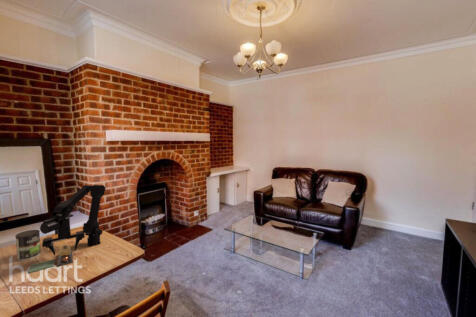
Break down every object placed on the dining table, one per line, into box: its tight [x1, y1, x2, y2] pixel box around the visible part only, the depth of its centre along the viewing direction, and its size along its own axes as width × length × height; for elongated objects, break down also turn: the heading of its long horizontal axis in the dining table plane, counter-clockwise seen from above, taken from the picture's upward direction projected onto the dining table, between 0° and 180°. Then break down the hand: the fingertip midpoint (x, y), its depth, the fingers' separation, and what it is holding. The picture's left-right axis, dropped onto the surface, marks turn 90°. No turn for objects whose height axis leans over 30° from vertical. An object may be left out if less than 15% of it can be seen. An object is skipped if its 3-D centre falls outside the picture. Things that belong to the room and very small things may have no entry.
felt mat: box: [28, 259, 55, 274], centre depth 118 cm, size 10×8×1 cm
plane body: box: [57, 249, 74, 267], centre depth 125 cm, size 15×6×5 cm, turn 38°
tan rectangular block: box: [58, 244, 72, 257], centre depth 124 cm, size 7×5×3 cm
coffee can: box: [14, 229, 42, 262], centre depth 128 cm, size 10×10×14 cm
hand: (65, 252), depth 125 cm, fingers open, 9 cm apart
